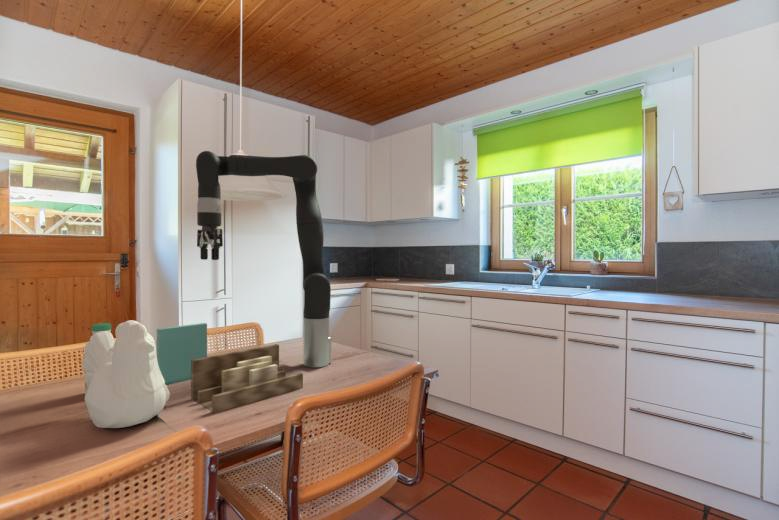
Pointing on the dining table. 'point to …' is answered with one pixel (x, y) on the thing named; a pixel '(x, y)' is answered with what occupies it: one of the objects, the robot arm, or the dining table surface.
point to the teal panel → (180, 350)
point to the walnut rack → (210, 388)
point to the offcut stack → (249, 373)
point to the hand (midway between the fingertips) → (209, 259)
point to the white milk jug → (123, 377)
